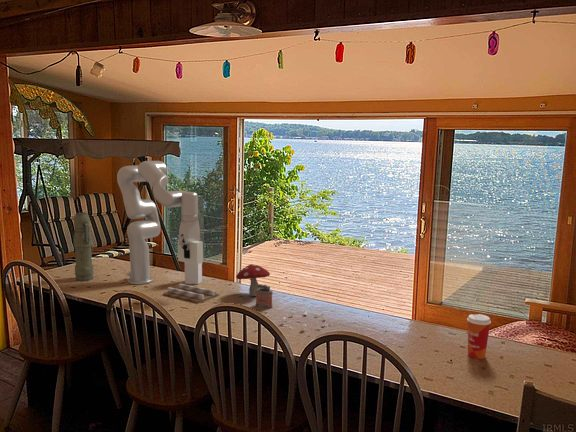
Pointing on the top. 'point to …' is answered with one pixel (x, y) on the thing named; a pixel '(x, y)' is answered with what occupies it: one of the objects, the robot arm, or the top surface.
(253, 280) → the decorative mushroom
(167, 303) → the top surface
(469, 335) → the paper cup
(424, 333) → the top surface
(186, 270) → the milk carton
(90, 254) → the moai statue
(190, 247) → the door panel
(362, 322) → the top surface
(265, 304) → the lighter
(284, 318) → the game piece set
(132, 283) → the robot arm
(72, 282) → the top surface
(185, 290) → the track board
